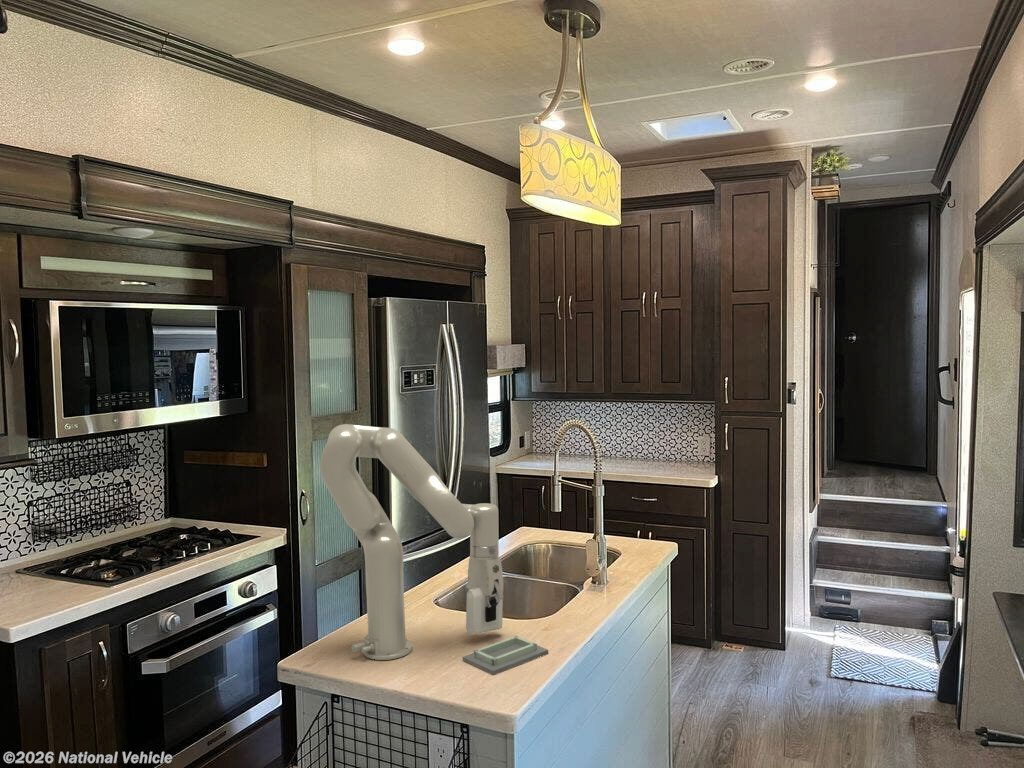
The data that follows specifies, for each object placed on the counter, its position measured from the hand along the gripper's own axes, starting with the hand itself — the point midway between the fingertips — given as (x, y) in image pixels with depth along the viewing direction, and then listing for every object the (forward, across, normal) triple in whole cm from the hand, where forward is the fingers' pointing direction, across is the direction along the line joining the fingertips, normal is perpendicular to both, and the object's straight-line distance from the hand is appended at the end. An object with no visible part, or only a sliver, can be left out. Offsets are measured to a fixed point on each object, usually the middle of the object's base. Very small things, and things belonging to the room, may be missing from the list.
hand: (484, 617), depth 209 cm
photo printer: (+4, 0, 0) cm, 4 cm away
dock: (+6, -14, +4) cm, 15 cm away
